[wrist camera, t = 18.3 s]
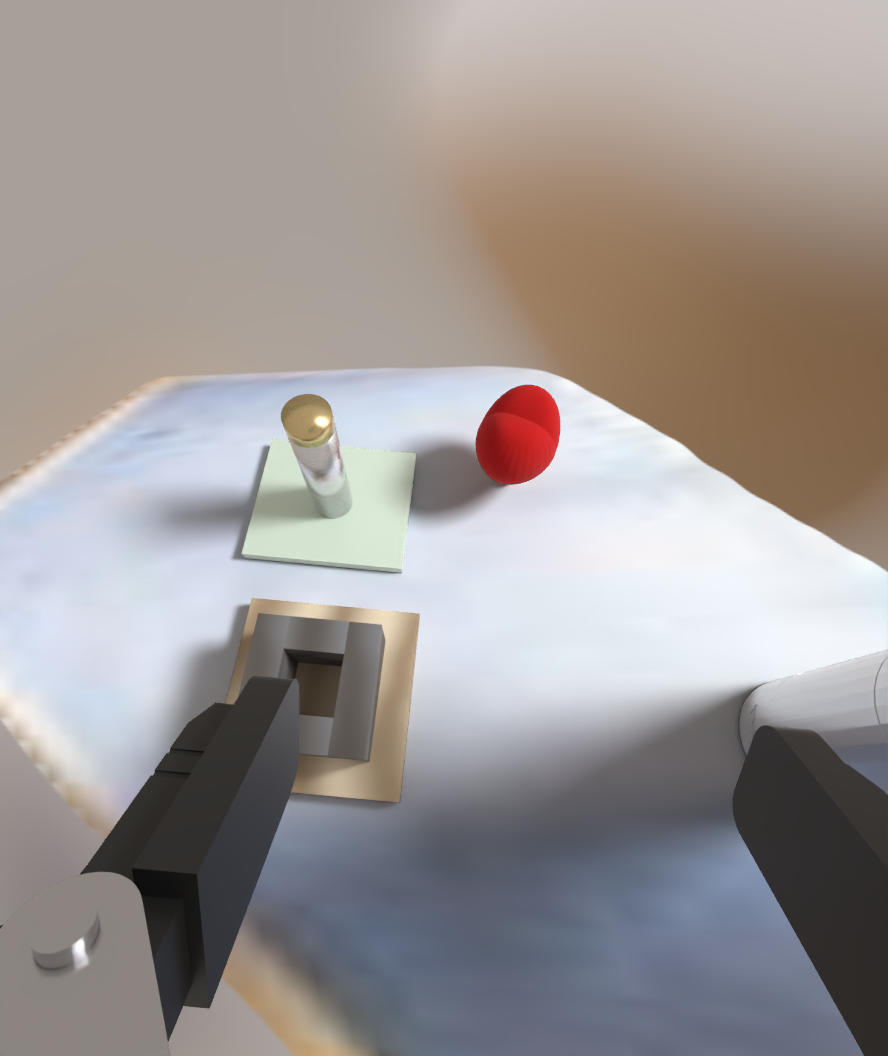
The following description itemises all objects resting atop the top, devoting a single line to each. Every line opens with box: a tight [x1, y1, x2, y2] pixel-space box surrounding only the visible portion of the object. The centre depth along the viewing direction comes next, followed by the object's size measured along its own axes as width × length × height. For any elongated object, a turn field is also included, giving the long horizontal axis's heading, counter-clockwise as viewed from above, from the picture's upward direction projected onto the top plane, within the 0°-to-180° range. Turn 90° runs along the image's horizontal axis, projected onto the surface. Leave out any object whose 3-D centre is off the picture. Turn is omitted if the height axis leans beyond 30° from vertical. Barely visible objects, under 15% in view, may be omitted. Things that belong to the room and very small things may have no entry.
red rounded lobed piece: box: [476, 385, 560, 485], centre depth 48 cm, size 9×7×10 cm
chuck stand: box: [225, 598, 420, 802], centre depth 40 cm, size 14×14×6 cm
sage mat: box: [242, 440, 416, 573], centre depth 49 cm, size 14×12×1 cm
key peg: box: [281, 394, 353, 519], centre depth 43 cm, size 4×4×13 cm
